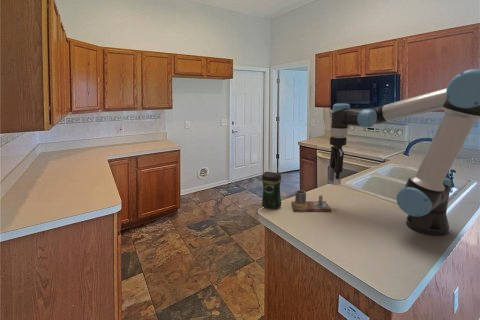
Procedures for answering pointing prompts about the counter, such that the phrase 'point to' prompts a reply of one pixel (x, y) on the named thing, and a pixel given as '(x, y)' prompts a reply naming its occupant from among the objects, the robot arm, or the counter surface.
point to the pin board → (312, 206)
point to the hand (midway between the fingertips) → (334, 182)
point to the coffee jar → (271, 190)
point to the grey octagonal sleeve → (332, 176)
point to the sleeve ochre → (300, 198)
